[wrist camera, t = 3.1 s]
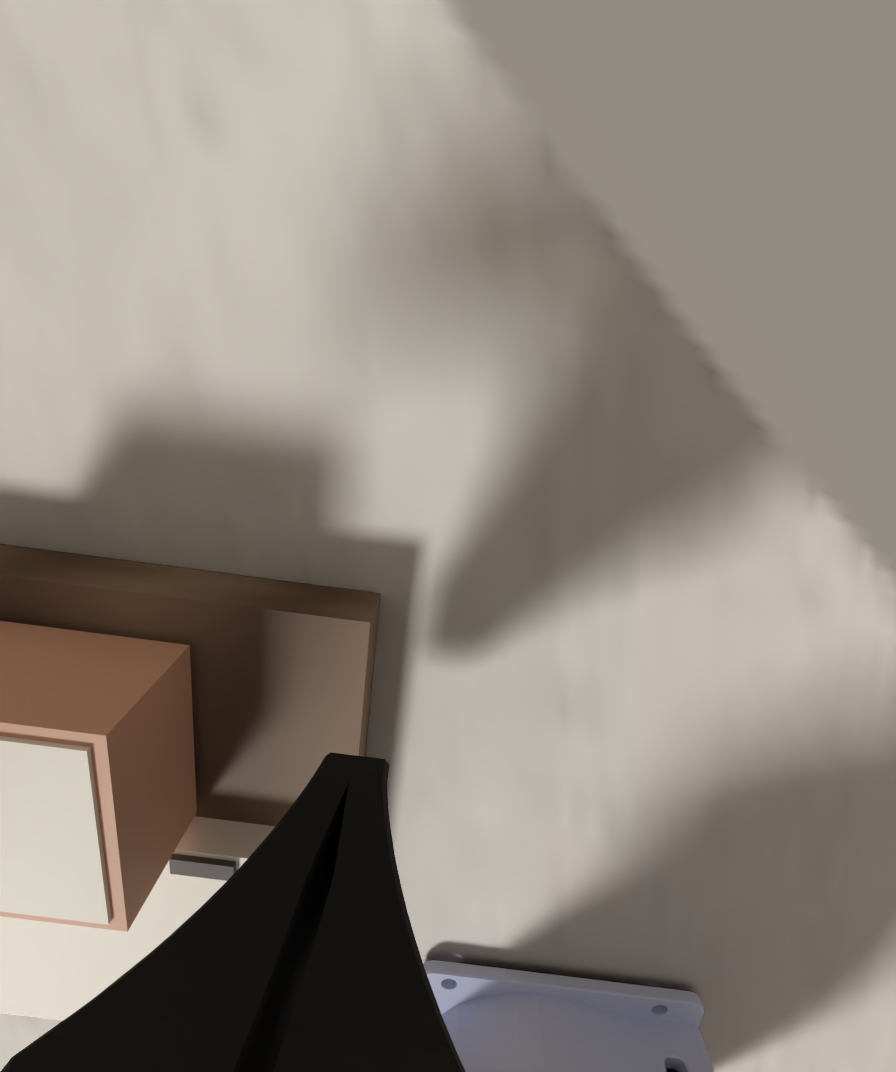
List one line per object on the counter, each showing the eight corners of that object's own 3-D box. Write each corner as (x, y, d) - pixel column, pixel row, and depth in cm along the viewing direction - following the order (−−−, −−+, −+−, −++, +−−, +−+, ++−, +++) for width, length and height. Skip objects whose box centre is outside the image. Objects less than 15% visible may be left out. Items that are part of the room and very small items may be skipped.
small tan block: (189, 645, 12) (101, 739, 9) (196, 812, 14) (124, 936, 11) (-31, 616, 12) (-189, 703, 9) (3, 787, 14) (-121, 906, 11)
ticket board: (380, 594, 14) (360, 649, 11) (342, 999, 19) (323, 1098, 16) (-376, 495, 13) (-570, 530, 11) (-197, 933, 19) (-299, 1024, 16)
